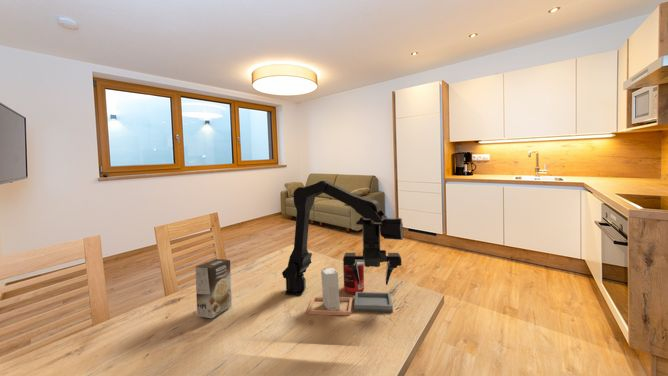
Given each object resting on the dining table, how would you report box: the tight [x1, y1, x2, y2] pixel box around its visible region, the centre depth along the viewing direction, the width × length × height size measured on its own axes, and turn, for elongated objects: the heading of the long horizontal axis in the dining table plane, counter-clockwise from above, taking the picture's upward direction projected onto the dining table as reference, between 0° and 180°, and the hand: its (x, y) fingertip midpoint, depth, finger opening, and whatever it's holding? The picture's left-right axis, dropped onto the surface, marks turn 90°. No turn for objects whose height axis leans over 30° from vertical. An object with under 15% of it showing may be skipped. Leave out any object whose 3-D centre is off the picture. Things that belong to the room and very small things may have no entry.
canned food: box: [342, 262, 365, 295], centre depth 104 cm, size 8×8×11 cm
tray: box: [353, 291, 394, 313], centre depth 91 cm, size 12×10×2 cm
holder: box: [306, 296, 353, 316], centre depth 91 cm, size 14×11×1 cm
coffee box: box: [195, 258, 233, 319], centre depth 90 cm, size 9×6×16 cm
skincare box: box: [320, 267, 341, 311], centre depth 91 cm, size 6×4×12 cm
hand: (372, 284), depth 91 cm, fingers open, 9 cm apart
